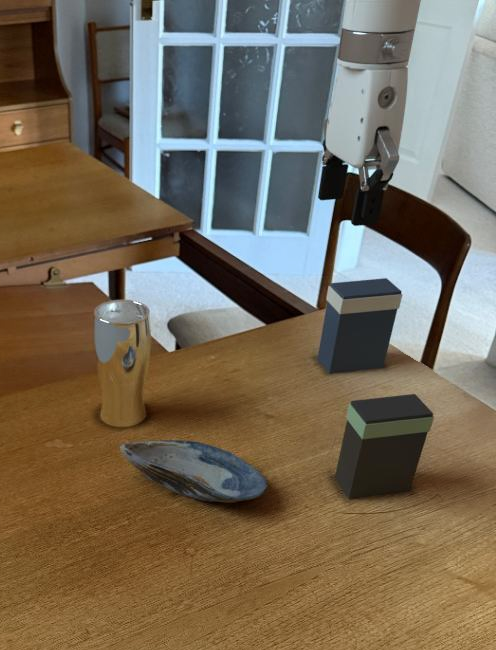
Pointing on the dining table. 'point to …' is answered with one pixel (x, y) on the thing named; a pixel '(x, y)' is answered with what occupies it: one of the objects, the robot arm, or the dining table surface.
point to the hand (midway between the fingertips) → (346, 211)
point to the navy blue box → (358, 324)
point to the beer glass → (122, 359)
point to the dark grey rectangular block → (382, 445)
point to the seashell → (196, 470)
